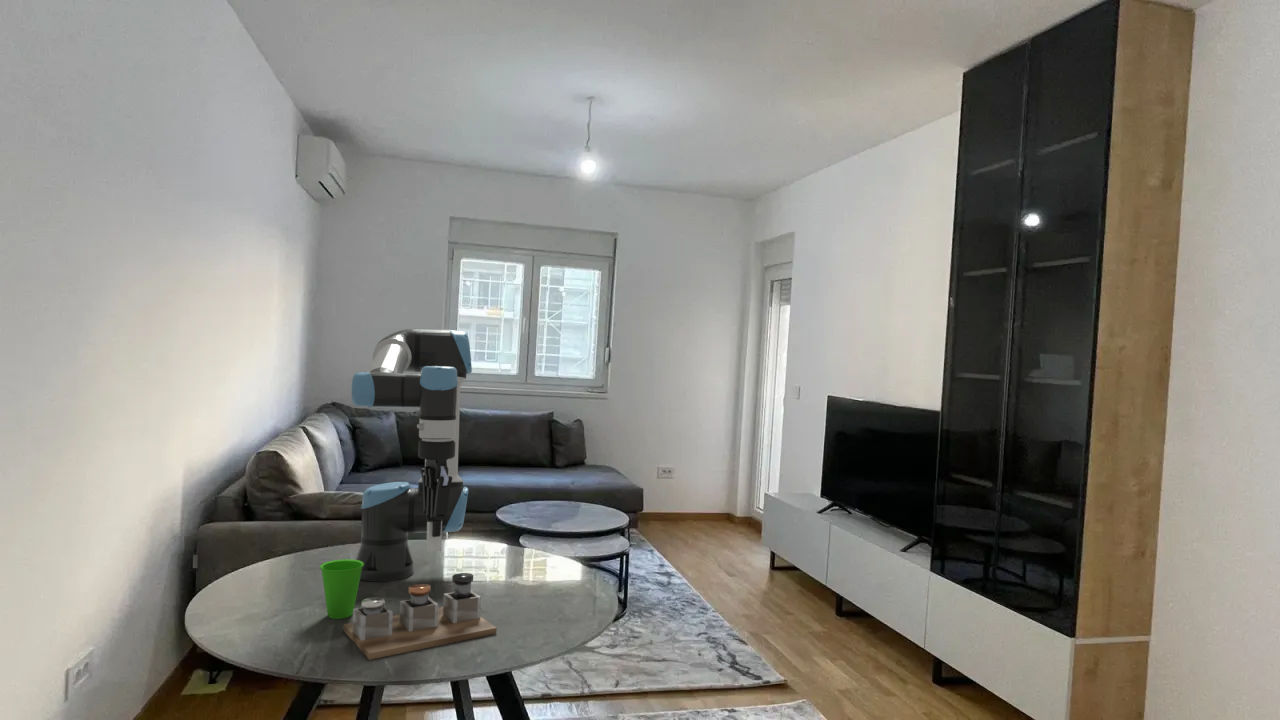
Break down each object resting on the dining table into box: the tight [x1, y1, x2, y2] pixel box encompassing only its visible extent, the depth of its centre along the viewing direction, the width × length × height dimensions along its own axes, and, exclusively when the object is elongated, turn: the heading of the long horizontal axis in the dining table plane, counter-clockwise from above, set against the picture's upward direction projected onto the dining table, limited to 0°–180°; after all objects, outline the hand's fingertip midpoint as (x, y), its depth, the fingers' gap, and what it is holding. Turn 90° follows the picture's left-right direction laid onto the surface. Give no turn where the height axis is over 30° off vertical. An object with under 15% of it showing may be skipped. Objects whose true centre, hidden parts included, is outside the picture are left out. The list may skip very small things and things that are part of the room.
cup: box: [319, 558, 364, 620], centre depth 165 cm, size 9×9×11 cm
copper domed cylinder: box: [408, 583, 432, 608], centre depth 157 cm, size 4×4×5 cm
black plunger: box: [451, 572, 474, 600], centre depth 163 cm, size 4×4×5 cm
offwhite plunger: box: [360, 596, 386, 616], centre depth 152 cm, size 4×4×5 cm
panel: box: [342, 590, 498, 661], centre depth 156 cm, size 18×26×6 cm
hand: (433, 550), depth 159 cm, fingers closed
